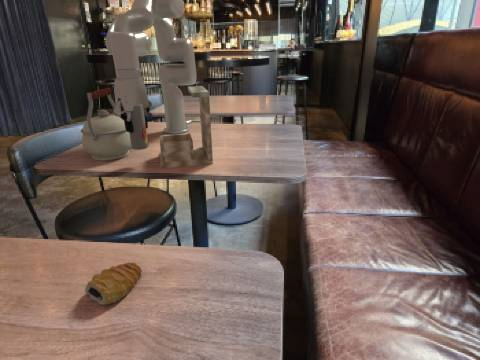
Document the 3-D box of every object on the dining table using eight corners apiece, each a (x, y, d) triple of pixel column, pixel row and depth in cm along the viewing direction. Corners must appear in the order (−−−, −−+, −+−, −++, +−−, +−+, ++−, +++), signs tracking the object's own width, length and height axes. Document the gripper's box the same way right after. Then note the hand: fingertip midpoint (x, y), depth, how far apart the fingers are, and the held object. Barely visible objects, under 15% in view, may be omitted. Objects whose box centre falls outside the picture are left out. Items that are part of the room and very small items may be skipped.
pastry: (126, 266, 61) (123, 249, 59) (152, 277, 58) (149, 261, 56) (82, 297, 53) (78, 279, 52) (109, 312, 50) (105, 294, 49)
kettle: (122, 164, 114) (110, 93, 104) (73, 164, 115) (56, 94, 105) (145, 144, 137) (137, 85, 127) (104, 144, 138) (93, 85, 128)
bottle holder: (160, 168, 109) (151, 94, 99) (160, 153, 125) (153, 88, 116) (212, 163, 113) (209, 92, 103) (206, 149, 129) (202, 86, 119)
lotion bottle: (150, 145, 113) (143, 87, 105) (145, 150, 108) (136, 90, 100) (135, 144, 114) (126, 87, 105) (129, 150, 108) (119, 90, 100)
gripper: (141, 71, 109) (149, 123, 116) (97, 77, 96) (108, 134, 104) (157, 72, 105) (163, 125, 113) (112, 78, 92) (123, 137, 100)
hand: (137, 129), depth 108 cm, fingers closed on lotion bottle, 5 cm apart
